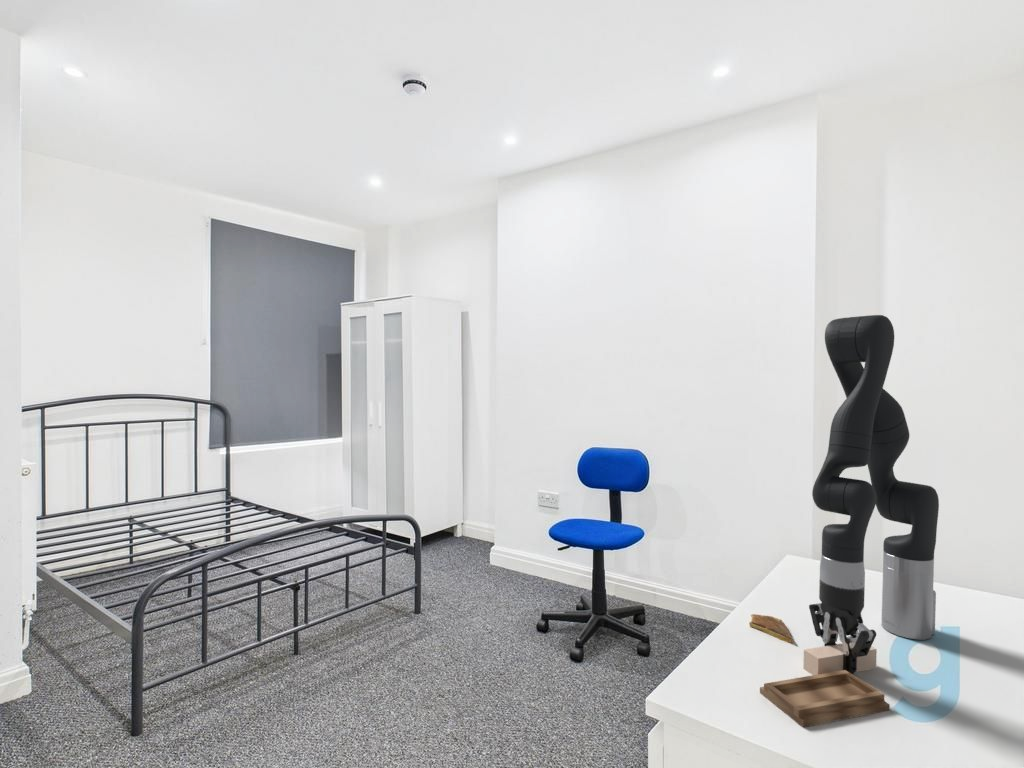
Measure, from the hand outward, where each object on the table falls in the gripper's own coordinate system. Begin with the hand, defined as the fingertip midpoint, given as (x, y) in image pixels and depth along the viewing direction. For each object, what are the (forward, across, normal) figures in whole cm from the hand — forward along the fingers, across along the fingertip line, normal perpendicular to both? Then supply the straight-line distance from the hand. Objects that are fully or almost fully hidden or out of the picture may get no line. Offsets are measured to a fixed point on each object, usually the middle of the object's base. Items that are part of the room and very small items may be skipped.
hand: (839, 667), depth 108 cm
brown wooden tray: (0, -8, +12) cm, 14 cm away
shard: (+1, +17, 0) cm, 17 cm away
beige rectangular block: (0, 0, 0) cm, 0 cm away
